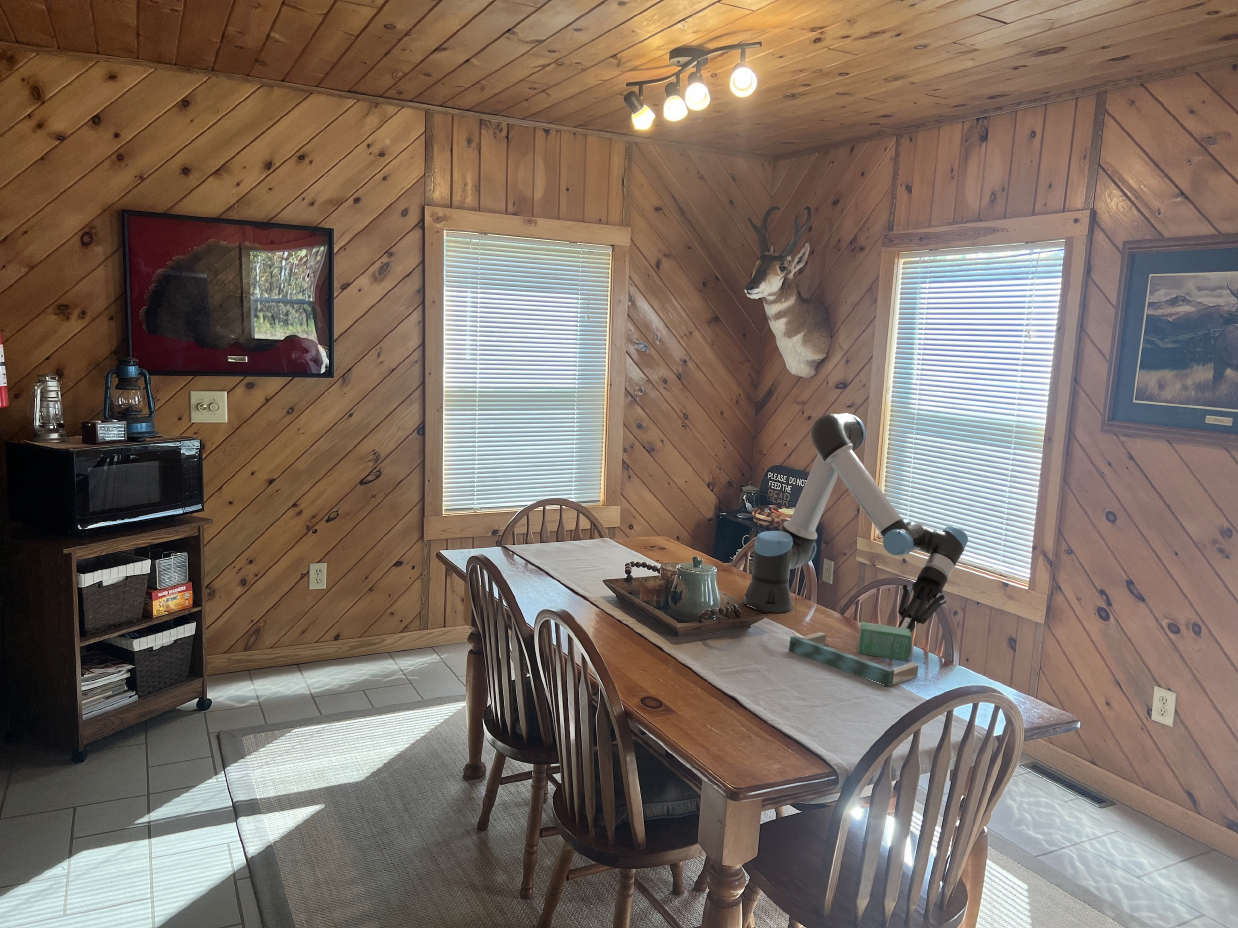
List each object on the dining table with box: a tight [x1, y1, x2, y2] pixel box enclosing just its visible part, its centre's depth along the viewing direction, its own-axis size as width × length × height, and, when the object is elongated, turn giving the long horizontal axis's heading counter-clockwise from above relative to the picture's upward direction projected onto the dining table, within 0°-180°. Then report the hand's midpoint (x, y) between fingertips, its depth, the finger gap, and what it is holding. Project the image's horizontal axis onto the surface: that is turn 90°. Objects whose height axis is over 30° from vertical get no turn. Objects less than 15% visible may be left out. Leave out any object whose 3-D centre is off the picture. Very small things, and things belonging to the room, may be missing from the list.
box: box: [857, 621, 913, 662], centre depth 241 cm, size 7×14×8 cm, turn 76°
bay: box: [788, 631, 919, 687], centre depth 231 cm, size 30×14×4 cm, turn 42°
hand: (899, 639), depth 245 cm, fingers closed
